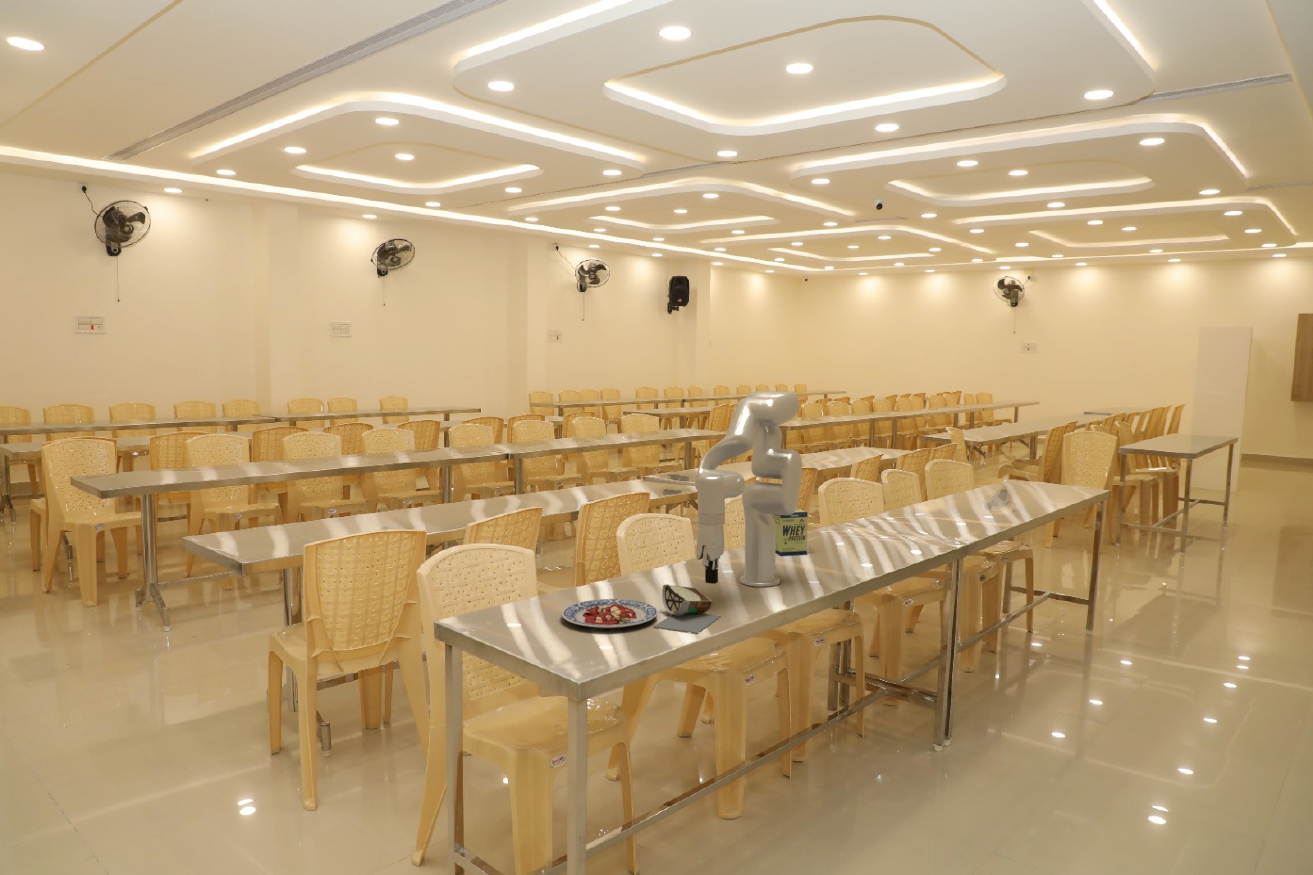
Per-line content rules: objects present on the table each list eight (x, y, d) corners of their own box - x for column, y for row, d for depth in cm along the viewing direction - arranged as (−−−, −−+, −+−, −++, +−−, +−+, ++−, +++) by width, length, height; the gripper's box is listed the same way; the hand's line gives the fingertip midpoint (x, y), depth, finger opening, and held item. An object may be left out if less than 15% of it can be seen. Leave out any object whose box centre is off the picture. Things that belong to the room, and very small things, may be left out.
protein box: (780, 556, 304) (781, 513, 303) (765, 547, 319) (765, 506, 318) (807, 554, 307) (808, 512, 305) (791, 546, 322) (791, 505, 320)
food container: (687, 606, 242) (657, 604, 237) (692, 585, 241) (662, 584, 236) (709, 624, 231) (678, 623, 227) (715, 603, 231) (684, 601, 226)
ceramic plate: (551, 611, 238) (551, 601, 237) (638, 602, 247) (638, 592, 246) (576, 639, 214) (576, 627, 213) (672, 628, 223) (671, 616, 222)
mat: (678, 611, 237) (678, 610, 237) (720, 617, 231) (720, 616, 231) (653, 627, 222) (653, 626, 222) (697, 634, 217) (697, 632, 217)
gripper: (709, 513, 247) (709, 575, 249) (688, 522, 234) (688, 587, 235) (733, 514, 244) (733, 577, 246) (713, 524, 230) (714, 590, 232)
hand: (711, 582), depth 240 cm, fingers closed
